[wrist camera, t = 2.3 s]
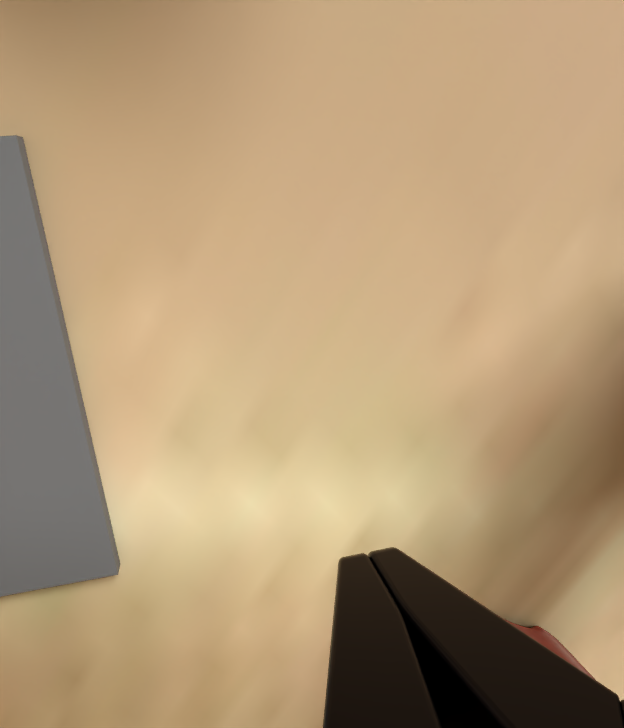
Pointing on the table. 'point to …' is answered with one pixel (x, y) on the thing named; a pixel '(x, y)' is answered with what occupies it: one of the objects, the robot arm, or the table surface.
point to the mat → (41, 412)
